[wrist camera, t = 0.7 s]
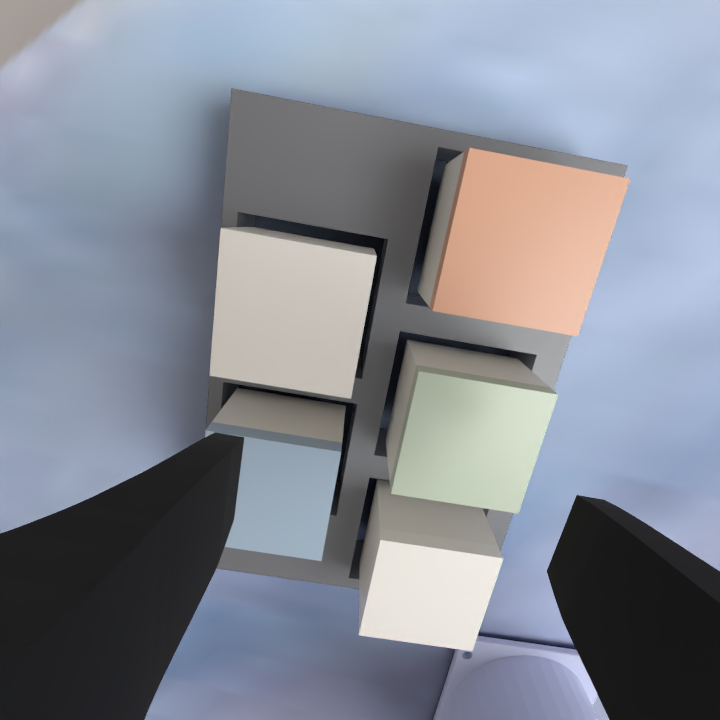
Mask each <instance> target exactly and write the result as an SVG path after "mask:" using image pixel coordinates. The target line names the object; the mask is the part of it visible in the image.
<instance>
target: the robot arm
mask: <svg viewBox="0 0 720 720" xmlns="http://www.w3.org/2000/svg"><path fill="white" fill-rule="evenodd" d="M243 444H244V437H239V436H234V435H228V434H222V433H216V432H215V433H213V434H211V435H209V436H207V437H205V438H203V439H202V440H200V441H198V442H196V443H195V444H193V445H191V446H189V447H188V448H186V449H184V450H182V451H181V452H179V453H177V454H175V455H174V456H172V457H170V458H168V459H166V460H164V461H163V462H161V463H159V464H157V465H155V466H154V467H152V468H150V469H148V470H146V471H144V472H143V473H141V474H138V475H136V476H134V477H132V478H130V479H128V480H126V481H124V482H122V483H120V484H118V485H116V486H114V487H112V488H110V489H108V490H106V491H104V492H102V493H100V494H98V495H96V496H94V497H91V498H89V499H87V500H85V501H83V502H80V503H78V504H76V505H73V506H71V507H69V508H66V509H64V510H62V511H59V512H57V513H54V514H51V515H49V516H46V517H44V518H41V519H39V520H36V521H34V522H31V523H29V524H26V525H23V526H21V527H18V528H15V529H13V530H10V531H7V532H4V533H1V534H0V720H144V719H145V717H146V714H147V712H148V709H149V707H150V704H151V702H152V700H153V698H154V696H155V693H156V691H157V689H158V687H159V684H160V682H161V680H162V678H163V676H164V674H165V672H166V670H167V668H168V666H169V664H170V662H171V660H172V657H173V655H174V653H175V651H176V649H177V647H178V645H179V643H180V641H181V639H182V637H183V635H184V633H185V631H186V629H187V627H188V625H189V623H190V621H191V619H192V617H193V615H194V613H195V611H196V609H197V607H198V605H199V603H200V601H201V599H202V597H203V595H204V593H205V591H206V589H207V587H208V584H209V582H210V580H211V578H212V576H213V574H214V572H215V570H216V568H217V566H218V564H219V561H220V558H221V555H222V553H223V550H224V547H225V544H226V542H227V539H228V536H229V533H230V530H231V527H232V524H233V521H234V516H235V508H236V500H237V492H238V484H239V476H240V468H241V460H242V452H243ZM547 573H548V576H549V580H550V583H551V586H552V589H553V593H554V596H555V599H556V602H557V605H558V608H559V611H560V614H561V616H562V619H563V621H564V624H565V626H566V628H567V630H568V633H569V635H570V637H571V639H572V641H573V643H574V646H575V648H576V650H575V649H568V648H561V647H554V646H547V645H540V644H533V643H526V642H519V641H512V640H505V639H497V638H490V637H483V636H477V639H476V642H475V645H474V648H473V651H467V650H460V649H456V650H455V653H454V657H453V660H452V663H451V666H450V669H449V672H448V675H447V678H446V682H445V685H444V688H443V691H442V694H441V697H440V700H439V704H438V707H437V710H436V713H435V716H434V719H433V720H599V719H598V717H597V715H596V713H595V710H594V708H593V704H594V702H595V700H596V698H597V696H599V698H600V700H601V702H602V705H603V707H604V709H605V711H606V713H607V715H608V717H609V719H610V720H720V571H718V570H717V569H715V568H714V567H712V566H710V565H709V564H707V563H706V562H704V561H703V560H701V559H700V558H698V557H697V556H695V555H693V554H692V553H690V552H689V551H687V550H686V549H684V548H683V547H681V546H680V545H678V544H677V543H675V542H673V541H672V540H670V539H669V538H667V537H666V536H664V535H663V534H661V533H660V532H658V531H656V530H655V529H653V528H652V527H650V526H649V525H647V524H646V523H644V522H642V521H641V520H639V519H637V518H636V517H634V516H633V515H631V514H629V513H628V512H626V511H624V510H622V509H621V508H619V507H617V506H615V505H613V504H611V503H609V502H607V501H605V500H602V499H596V498H590V497H584V496H579V495H577V496H576V499H575V501H574V504H573V506H572V509H571V511H570V514H569V516H568V519H567V522H566V524H565V527H564V529H563V532H562V534H561V537H560V539H559V542H558V544H557V547H556V549H555V552H554V554H553V557H552V560H551V562H550V565H549V567H548V570H547Z"/></svg>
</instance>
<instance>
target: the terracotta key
mask: <svg viewBox="0 0 720 720" xmlns="http://www.w3.org/2000/svg"><path fill="white" fill-rule="evenodd" d="M629 182H630V179H629V178H624V177H619V176H613V175H608V174H603V173H598V172H593V171H588V170H582V169H577V168H572V167H567V166H562V165H556V164H551V163H546V162H541V161H536V160H531V159H525V158H520V157H515V156H510V155H505V154H500V153H494V152H489V151H484V150H479V149H474V148H469V149H467V150H466V151H464V152H463V153H461V154H460V155H459V156H457V157H456V158H454V159H453V160H451V161H450V162H448V163H447V164H446V165H444V169H443V174H442V179H441V183H440V188H439V193H438V197H437V202H436V207H435V211H434V216H433V221H432V225H431V230H430V235H429V239H428V244H427V249H426V253H425V258H424V263H423V267H422V272H421V277H420V281H419V286H418V291H417V292H418V293H419V294H420V295H421V297H422V298H423V299H424V301H425V302H426V303H427V304H428V306H429V307H430V308H431V310H432V311H435V312H441V313H447V314H452V315H458V316H464V317H469V318H475V319H481V320H487V321H492V322H498V323H504V324H509V325H515V326H521V327H527V328H532V329H538V330H544V331H549V332H555V333H561V334H566V335H572V336H578V334H579V331H580V328H581V325H582V322H583V319H584V316H585V313H586V310H587V307H588V304H589V301H590V298H591V295H592V292H593V289H594V286H595V283H596V280H597V277H598V274H599V271H600V268H601V265H602V263H603V260H604V257H605V254H606V251H607V248H608V245H609V242H610V239H611V236H612V233H613V230H614V227H615V224H616V221H617V218H618V215H619V212H620V209H621V206H622V203H623V200H624V197H625V194H626V191H627V188H628V185H629Z"/></svg>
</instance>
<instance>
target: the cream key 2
mask: <svg viewBox="0 0 720 720" xmlns="http://www.w3.org/2000/svg"><path fill="white" fill-rule="evenodd" d="M502 561H503V556H502V554H501V551H500V549H499V546H498V544H497V542H496V539H495V537H494V534H493V532H492V530H491V527H490V525H489V522H488V520H487V518H486V515H485V513H484V510H483V508H479V507H473V506H466V505H460V504H453V503H447V502H440V501H434V500H427V499H421V498H415V497H408V496H402V495H395V494H391V489H390V481H386V480H379V479H377V482H376V487H375V492H374V496H373V501H372V506H371V510H370V515H369V520H368V524H367V529H366V534H365V538H364V543H363V548H362V552H361V557H360V565H359V635H360V636H367V637H374V638H381V639H388V640H396V641H403V642H410V643H417V644H424V645H431V646H438V647H446V648H453V649H460V650H467V651H473V648H474V645H475V642H476V639H477V636H478V633H479V630H480V627H481V624H482V621H483V618H484V615H485V612H486V609H487V606H488V603H489V600H490V597H491V594H492V591H493V588H494V585H495V582H496V579H497V576H498V573H499V570H500V567H501V564H502Z"/></svg>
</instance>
